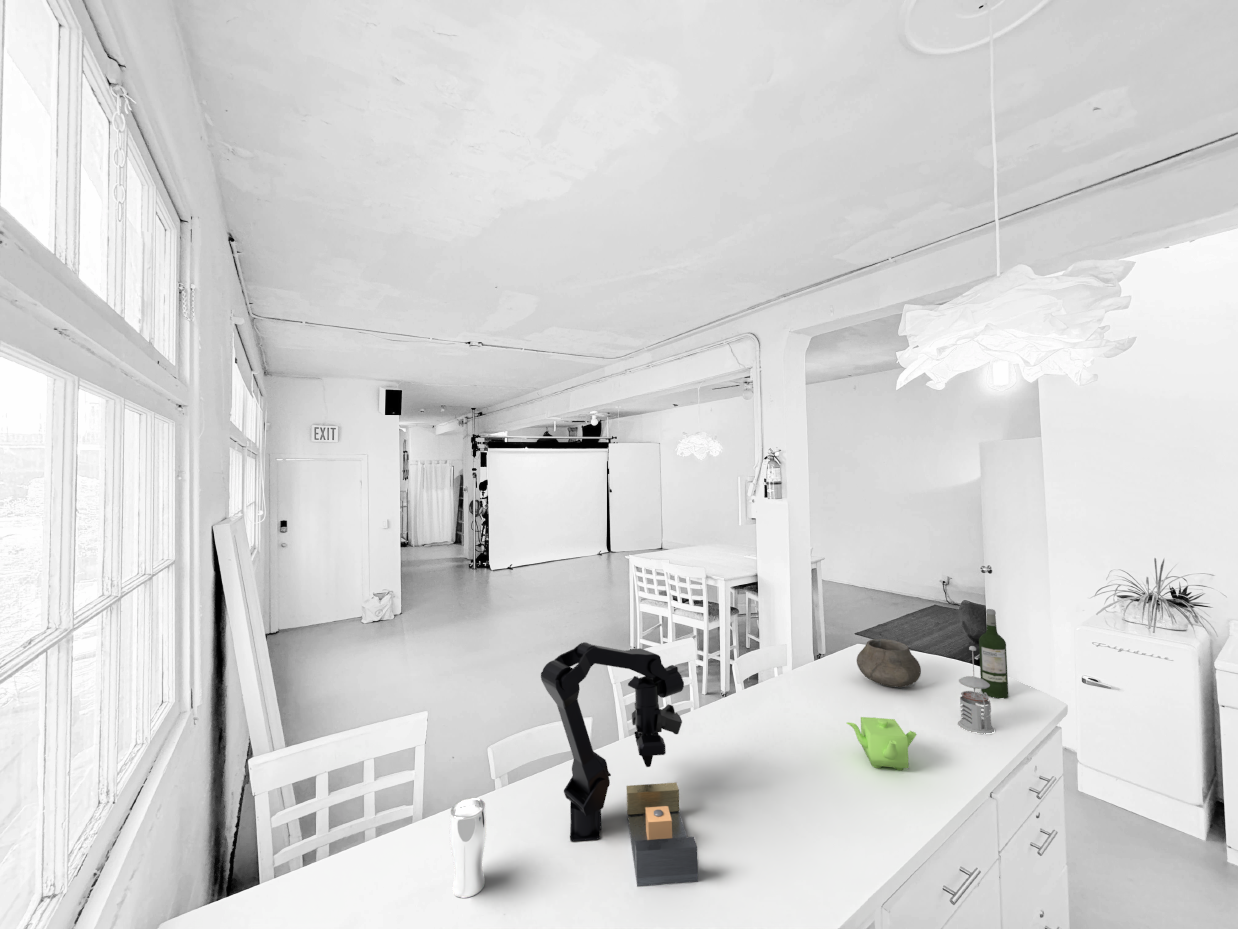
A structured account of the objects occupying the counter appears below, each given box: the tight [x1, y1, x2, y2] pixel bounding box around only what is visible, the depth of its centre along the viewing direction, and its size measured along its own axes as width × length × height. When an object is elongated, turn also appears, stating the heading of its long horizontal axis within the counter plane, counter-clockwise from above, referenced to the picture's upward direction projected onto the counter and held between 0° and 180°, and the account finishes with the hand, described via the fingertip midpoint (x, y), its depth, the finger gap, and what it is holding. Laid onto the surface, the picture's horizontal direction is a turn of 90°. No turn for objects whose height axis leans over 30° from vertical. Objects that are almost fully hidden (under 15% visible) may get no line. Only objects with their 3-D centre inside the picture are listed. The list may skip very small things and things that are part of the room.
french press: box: [957, 645, 995, 735], centre depth 161 cm, size 10×12×25 cm
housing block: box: [646, 806, 672, 840], centre depth 112 cm, size 5×5×5 cm
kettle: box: [846, 716, 918, 771], centre depth 143 cm, size 15×14×11 cm
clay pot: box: [856, 638, 922, 688], centre depth 197 cm, size 22×21×15 cm
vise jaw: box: [626, 782, 680, 814], centre depth 121 cm, size 12×3×5 cm, turn 94°
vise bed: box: [626, 810, 699, 887], centre depth 112 cm, size 12×22×7 cm, turn 4°
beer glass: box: [449, 797, 487, 899], centre depth 101 cm, size 7×7×15 cm
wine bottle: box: [978, 608, 1009, 699], centre depth 185 cm, size 8×8×30 cm
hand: (648, 766), depth 128 cm, fingers closed
